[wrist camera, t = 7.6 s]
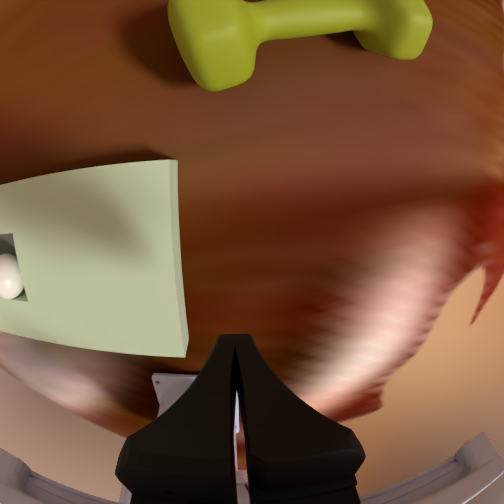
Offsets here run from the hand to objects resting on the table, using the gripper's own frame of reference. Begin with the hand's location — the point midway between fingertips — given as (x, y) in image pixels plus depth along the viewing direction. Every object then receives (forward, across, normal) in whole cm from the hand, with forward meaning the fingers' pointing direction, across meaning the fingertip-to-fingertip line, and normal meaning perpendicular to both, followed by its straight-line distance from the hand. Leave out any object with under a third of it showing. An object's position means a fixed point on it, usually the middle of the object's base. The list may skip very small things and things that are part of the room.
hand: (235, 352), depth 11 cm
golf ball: (+7, +20, 0) cm, 21 cm away
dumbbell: (+10, -4, -18) cm, 21 cm away
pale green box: (+9, +16, -1) cm, 18 cm away
